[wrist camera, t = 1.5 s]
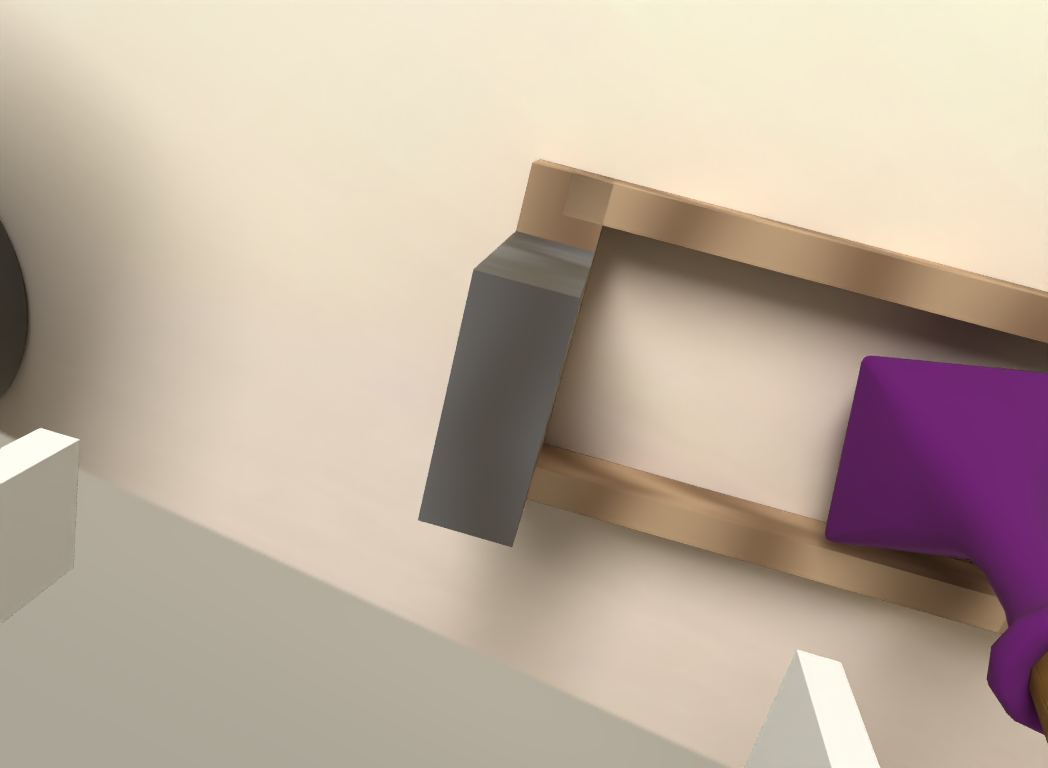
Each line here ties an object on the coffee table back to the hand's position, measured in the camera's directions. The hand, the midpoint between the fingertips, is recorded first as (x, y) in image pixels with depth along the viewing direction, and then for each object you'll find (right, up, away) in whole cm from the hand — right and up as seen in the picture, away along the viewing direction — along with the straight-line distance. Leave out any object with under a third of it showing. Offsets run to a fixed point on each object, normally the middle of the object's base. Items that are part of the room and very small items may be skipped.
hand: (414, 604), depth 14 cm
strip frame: (+13, +3, +18) cm, 23 cm away
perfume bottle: (+18, +2, +18) cm, 25 cm away
